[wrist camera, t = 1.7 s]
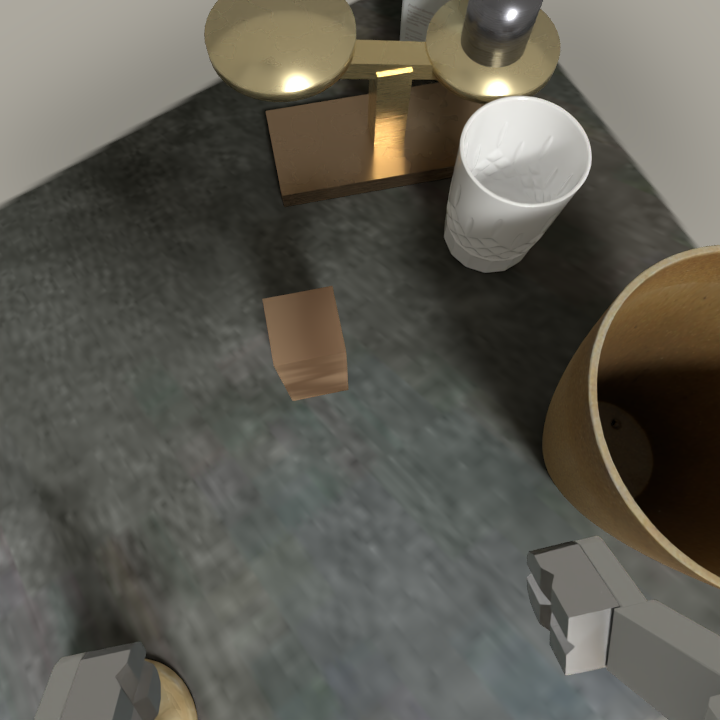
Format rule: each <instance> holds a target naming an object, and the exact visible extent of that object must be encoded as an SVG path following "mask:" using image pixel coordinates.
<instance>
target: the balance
mask: <svg viewBox="0 0 720 720" xmlns="http://www.w3.org/2000/svg"><path fill="white" fill-rule="evenodd" d="M542 2H543V0H450V1H448V2H447V3H445V4H444V5H443V6H442V7H441V8H440V9H439V10H438V11H437V12H436V13H435V14H434V16H433V17H432V19H431V21H430V23H429V26H428V30H427V35H426V42H416V41H382V40H356V23H355V18H354V15H353V13H352V10H351V8H350V7H349V5H348V3H347V2H346V1H345V0H218V1H217V2H216V3H215V5H214V6H213V8H212V9H211V11H210V13H209V15H208V18H207V21H206V25H205V33H204V35H205V44H206V47H207V51H208V54H209V58H210V61H211V63H212V65H213V68H214V69H215V71H216V72H217V74H218V75H219V76H220V78H221V79H222V80H223V81H224V82H225V83H226V84H228V85H229V86H230V87H231V88H233V89H234V90H236V91H237V92H239V93H242V94H244V95H246V96H248V97H251V98H254V99H258V100H263V101H270V102H289V101H297V100H301V99H305V98H308V97H311V96H314V95H316V94H318V93H321V92H323V91H324V90H326V89H328V88H329V87H331V86H332V85H333V84H334V83H336V82H337V81H338V80H339V79H369V94H366V95H359V96H353V97H347V98H341V99H335V100H329V101H323V102H317V103H311V104H305V105H299V106H293V107H287V108H281V109H274V110H268V111H266V116H267V121H268V126H269V132H270V137H271V142H272V147H273V152H274V158H275V163H276V168H277V173H278V178H279V184H280V189H281V194H282V199H283V203H284V207H287V206H293V205H298V204H304V203H310V202H315V201H321V200H327V199H332V198H338V197H344V196H349V195H355V194H361V193H366V192H372V191H377V190H383V189H389V188H394V187H400V186H406V185H411V184H417V183H423V182H428V181H434V180H440V179H445V178H451V177H452V176H453V171H454V166H455V162H456V157H457V152H458V147H459V143H460V138H461V134H462V131H463V128H464V126H465V124H466V122H467V121H468V119H469V118H470V117H471V116H472V115H473V113H474V112H476V111H477V110H478V109H479V108H481V107H482V106H484V105H485V104H487V103H489V102H491V101H494V100H496V99H500V98H503V97H509V96H530V97H531V96H533V95H534V94H536V93H537V92H539V91H540V90H541V89H542V88H543V87H544V86H545V85H546V84H547V82H548V81H549V79H550V78H551V76H552V74H553V72H554V70H555V67H556V65H557V62H558V60H559V55H560V39H559V36H558V32H557V30H556V28H555V26H554V24H553V23H552V21H551V20H550V18H549V17H548V16H547V15H546V14H545V13H544V12H543V11H542V10H541V9H540V7H541V5H542ZM412 80H437V81H438V83H432V84H426V85H420V86H414V87H411V84H412Z"/></svg>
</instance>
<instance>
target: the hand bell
mask: <svg viewBox="0 0 720 720" xmlns="http://www.w3.org/2000/svg"><path fill="white" fill-rule="evenodd" d="M145 661H148V662H150V663H152V664H154V665H155V667H156V669H157V671H158V674H159V678H160V682H161V701H160V707H159V713H158V715H157V717H156V718H155V720H197V712H196V708H195V704H194V701H193V699H192V697H191V694H190V692H189V690H188V688H187V686H186V685H185V683H184V682H183V681H182V679H181V678H180V677H179V676H178V675H177V674H176V673H175V672H174V671H173V670H171V669H170V668H169V667H167V666H165V665H164V664H161V663H159V662H157V661H153V660H149V659H145Z"/></svg>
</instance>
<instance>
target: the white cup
mask: <svg viewBox="0 0 720 720" xmlns="http://www.w3.org/2000/svg"><path fill="white" fill-rule="evenodd" d="M591 159H592V154H591V147H590V143H589V140H588V137H587V135H586V133H585V131H584V130H583V128H582V126H581V125H580V124H579V123H578V121H577V120H576V119H575V118H574V117H573V116H572V115H571V114H569V113H568V112H567V111H566V110H564V109H563V108H561V107H559V106H558V105H556V104H554V103H552V102H549V101H547V100H544V99H540V98H536V97H530V96H509V97H503V98H500V99H496V100H494V101H491V102H489V103H487V104H485V105H484V106H482V107H481V108H479V109H478V110H477V111H476V112H474V113H473V115H472V116H471V117H470V118H469V119H468V121H467V122H466V124H465V126H464V128H463V131H462V134H461V138H460V143H459V147H458V152H457V157H456V162H455V166H454V171H453V176H452V180H451V185H450V190H449V196H448V203H447V209H446V210H447V213H446V218H445V227H444V239H445V241H446V244H447V246H448V248H449V250H450V253H451V255H453V256H454V257H455V258H456V259H457V260H458V261H460V262H461V263H462V264H463V265H464V266H465V267H468V268H471V269H474V270H477V271H480V272H483V273H489V272H499V271H505V270H507V269H508V268H510V267H512V266H513V265H515V264H517V263H518V262H520V261H521V260H522V259H523V257H524V256H525V255H526V253H527V252H528V251H529V249H530V248H531V247H532V246H533V245H534V244H535V243H536V242H537V241H538V240H539V239H540V238H541V237H542V235H543V234H544V233H545V231H546V230H547V229H548V228H549V227H550V226H551V224H552V223H553V222H554V221H555V219H556V218H557V217H558V215H559V214H560V213H561V211H562V210H563V209H564V207H565V206H566V205H567V204H568V202H569V201H570V200H571V198H572V197H573V196H574V195H575V193H576V192H577V191H578V189H579V188H580V187H581V186H582V184H583V183H584V181H585V180H586V178H587V176H588V173H589V170H590V167H591Z"/></svg>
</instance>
